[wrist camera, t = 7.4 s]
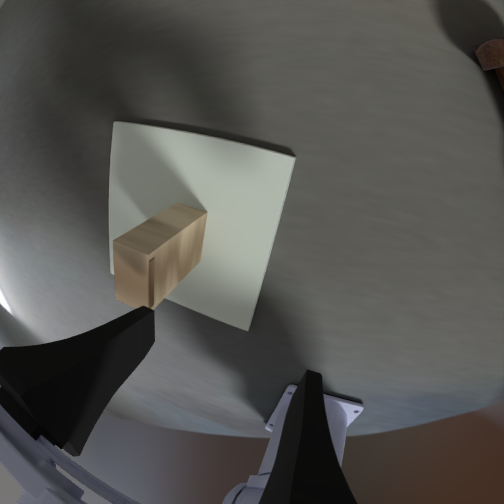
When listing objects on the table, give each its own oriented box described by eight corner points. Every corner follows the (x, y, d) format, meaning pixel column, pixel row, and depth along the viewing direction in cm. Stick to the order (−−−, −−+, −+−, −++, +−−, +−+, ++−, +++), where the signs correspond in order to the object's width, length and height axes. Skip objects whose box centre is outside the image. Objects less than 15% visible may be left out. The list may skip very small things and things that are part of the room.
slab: (201, 261, 22) (149, 315, 16) (172, 250, 22) (115, 298, 16) (208, 212, 20) (149, 255, 14) (177, 202, 20) (112, 240, 14)
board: (250, 327, 24) (247, 331, 23) (114, 270, 26) (110, 273, 26) (296, 157, 17) (294, 158, 17) (118, 121, 20) (113, 121, 19)
